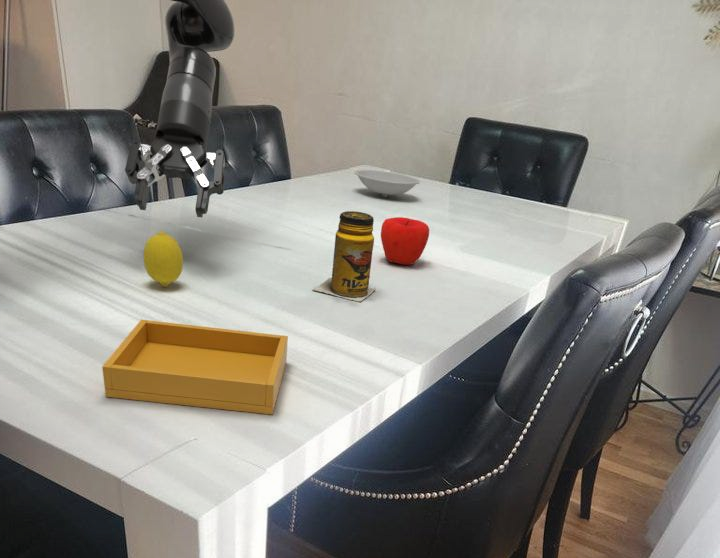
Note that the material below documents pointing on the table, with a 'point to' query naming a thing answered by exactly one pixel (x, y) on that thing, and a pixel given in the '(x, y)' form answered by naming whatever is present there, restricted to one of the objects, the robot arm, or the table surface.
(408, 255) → the apple
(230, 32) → the robot arm
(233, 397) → the yellow tray
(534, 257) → the table surface
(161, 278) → the lemon
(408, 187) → the dish
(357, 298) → the condiment
